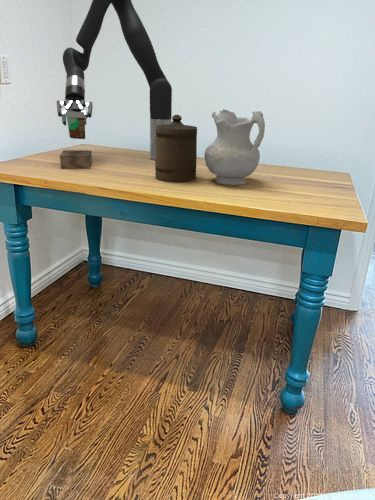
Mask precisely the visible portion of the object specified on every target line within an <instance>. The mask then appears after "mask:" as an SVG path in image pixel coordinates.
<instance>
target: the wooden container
mask: <svg viewBox="0 0 375 500" xmlns="http://www.w3.org/2000/svg"><path fill="white" fill-rule="evenodd" d="M182 120H183V117H182V116H181V115H180V114H174V115H172V116H171V123H170V124H167V125H157V126H156V149H155V160H154V161H155V162H154V165H155V167H154V168H155V169H154V170H155V172H154V173H155V176H154V177H155V178H156V180H159V181H163V182H168V183H169V182H170V183H184V182H191V181H195V179H197V153H198V152H197V150H198V149H197V144H198V143H197V142H198V140H197V139H198V138H197V137H198V127H197V126H194V125H189V124H187V125H186V124H184V123H182Z"/></svg>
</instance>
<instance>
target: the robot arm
mask: <svg viewBox="0 0 375 500" xmlns="http://www.w3.org/2000/svg"><path fill="white" fill-rule="evenodd" d="M111 5H112V7H113V10H114V11H115V13H116V15H117V17H118V20H119V23H120V29H121V32H122V35H123V38H124V40H125V43H126V44H127V46H128V49H129V51H130V52H131V55H132V57H133V58H134V60H135V61H136V63H137V65H138V66H139V67H140V69H141V70H142V72H143V74H144V76H145V78H146V81H147V84H148V87H149V130H150V131H149V132H150V133H149V142H150V143H149V145H150V146H149V148H150V149H149V151H150V152H149V158H150V160H154V161H155V149H156V126H157V125H167V124H170V123H171V122H172V116H173V113H172V111H173V110H172V108H173V107H172V103H173V99H172V98H173V97H172V96H173V89H172V84H171V83H170V82H169V80H168V79H167V77H166V75H165V73H164V72H163V70H162V68H161V66H160V63H159V61H158V58H157V55H156V52H155V49H154V46H153V44H152V41H151V38H150V36H149V34H148V32H147V30H146V27H145V25H144V24H143V22H142V20H141V18H140V16H139V14H138V12H137V11H136V9H135V6H134V4H133V3H132V0H92V1H91V4H90V7H89V9H88V12H87V14H86V16H85V18H84V21H83V23H82V25H81V27H80V29H79V31H78V33H77V36H76V38H75V42H76V44H77V45H78V46H80V47H81V48H82V50H83V51H82V52H81V51H79V50H78V49H75V48H73V47H67V48H66V49H65V50H64V51H63V54H62V64H63V67H64V70H65V72H66V81H65V92H64V96H65V97H64V100H63V101H60V100H56V110H57V116H58V118H60V117H61V122H62V124H63V126H67V116H65V112H66V110H70V109H72V110H73V111H76V112H84V113H85V126H86V125H87V119H90V118H92V115H93V108H94V107H93V101H89V102H86V101H85V100H86V99H85V97H86V95H85V94H86V88H85V87H86V85H85V71H87V69H88V68H89V65H90V59H91V54H92V50H93V47H94V46H95V43H96V41H97V38H98V36H99V35H100V33H101V32H100V31H101V29H102V26H103V23H104V18H105V16H106V13H107V11H108V9H109V7H110V6H111ZM63 106H64V109H63V111H62V108H63ZM85 108H87V112H86V110H85Z"/></svg>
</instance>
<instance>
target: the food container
mask: <svg viewBox="0 0 375 500" xmlns="http://www.w3.org/2000/svg"><path fill="white" fill-rule="evenodd" d="M65 116H67V117H66V122H67V128H68V134H69V135H68V136H69V138H70V139H74V140H75V139H76V140H86V125H85V113H84V112H76V111H73V110H72V109H70V110H66V112H65Z"/></svg>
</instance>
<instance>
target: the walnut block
mask: <svg viewBox="0 0 375 500" xmlns="http://www.w3.org/2000/svg"><path fill="white" fill-rule="evenodd" d="M92 156H93V155H92V150H89V149H87V150H86V149H85V150H84V149H83V150H82V149H81V150H80V149H79V150H73V149H70V150H69V149H65V150H62V152H61V153H60V155H59V159H60V160H59V161H60V169H61V170H63V169H66V170H68V169H69V170H70V169H73V170H77V169H78V170H79V169H81V170H82V169H83V170H84V169H85V170H86V169H87V170H88V169H89V170H90V169H91V167H92V163H93V158H92Z"/></svg>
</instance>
